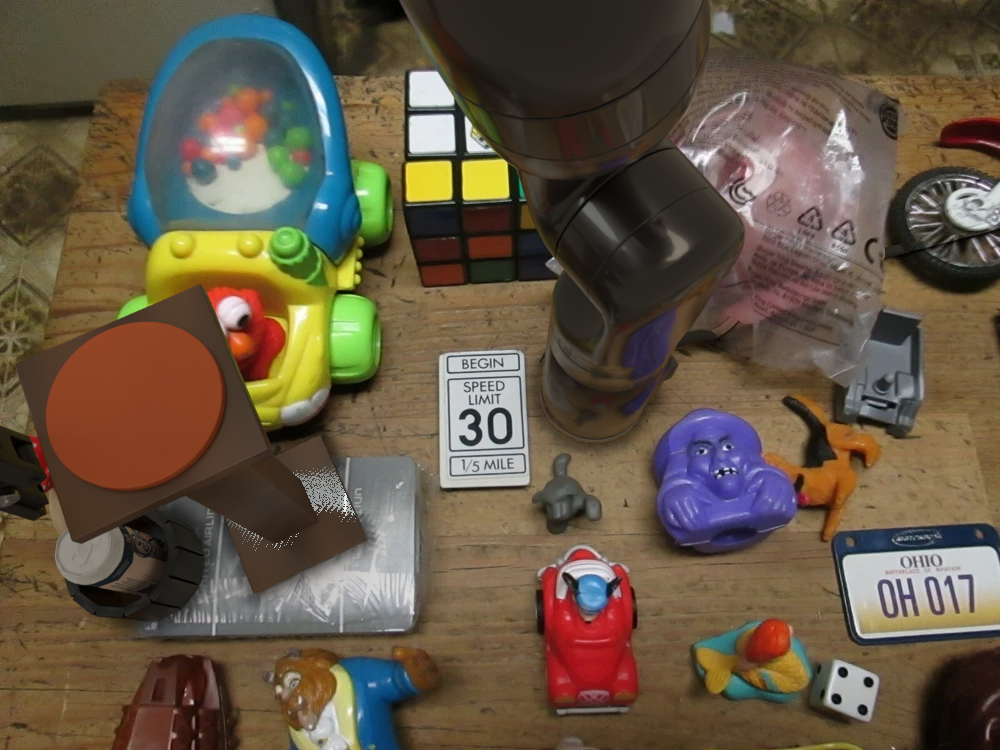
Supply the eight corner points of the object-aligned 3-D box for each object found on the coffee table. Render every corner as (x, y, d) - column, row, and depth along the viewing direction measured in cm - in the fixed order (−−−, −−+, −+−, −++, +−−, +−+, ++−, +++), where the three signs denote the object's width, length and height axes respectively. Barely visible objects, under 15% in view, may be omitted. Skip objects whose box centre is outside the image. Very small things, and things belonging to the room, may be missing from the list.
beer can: (190, 547, 70) (129, 524, 58) (167, 604, 68) (100, 591, 57) (137, 531, 70) (66, 506, 59) (113, 588, 69) (36, 572, 57)
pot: (184, 498, 71) (156, 484, 65) (218, 591, 68) (192, 584, 63) (86, 544, 70) (50, 533, 64) (118, 640, 67) (83, 637, 62)
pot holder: (192, 299, 43) (187, 294, 43) (251, 443, 41) (247, 439, 40) (30, 369, 42) (24, 365, 41) (81, 521, 39) (74, 519, 39)
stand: (322, 437, 73) (200, 283, 44) (368, 540, 70) (269, 449, 41) (214, 487, 71) (13, 363, 42) (256, 595, 68) (71, 541, 39)
